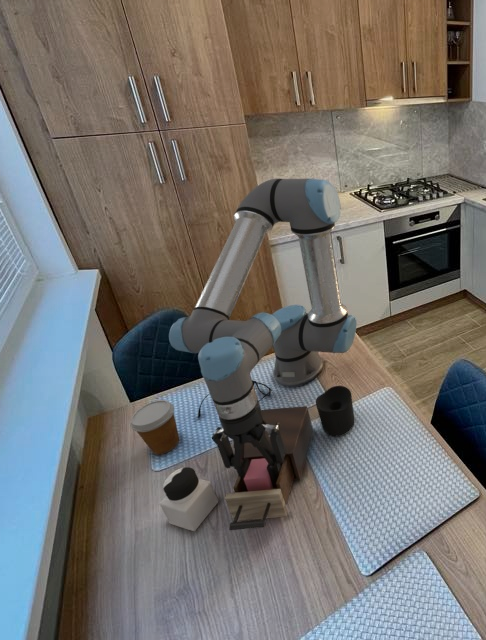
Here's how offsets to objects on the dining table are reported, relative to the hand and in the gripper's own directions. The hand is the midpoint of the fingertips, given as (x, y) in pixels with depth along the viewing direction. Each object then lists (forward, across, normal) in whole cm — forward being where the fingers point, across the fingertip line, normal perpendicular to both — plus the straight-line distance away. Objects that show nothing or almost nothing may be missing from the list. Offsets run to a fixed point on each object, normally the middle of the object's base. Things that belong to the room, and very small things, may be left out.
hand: (263, 482), depth 93 cm
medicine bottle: (+6, -16, -2) cm, 17 cm away
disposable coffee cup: (+6, -33, +18) cm, 38 cm away
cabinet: (+5, 0, +11) cm, 12 cm away
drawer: (+5, 0, -1) cm, 5 cm away
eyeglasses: (+6, -19, +30) cm, 36 cm away
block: (0, 0, 0) cm, 0 cm away
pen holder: (+6, +13, +20) cm, 25 cm away
